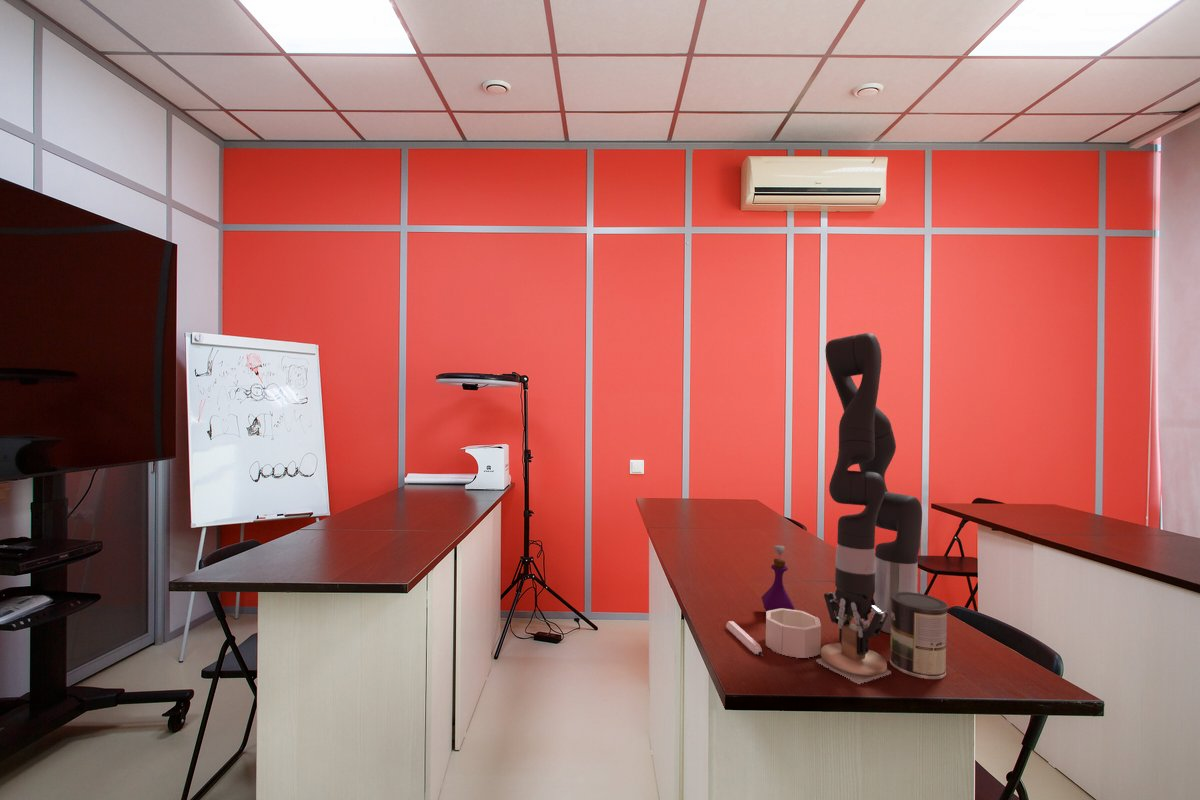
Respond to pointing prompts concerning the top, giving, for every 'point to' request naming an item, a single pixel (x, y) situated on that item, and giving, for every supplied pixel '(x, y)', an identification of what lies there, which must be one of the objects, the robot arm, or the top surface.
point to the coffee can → (918, 635)
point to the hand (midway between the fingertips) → (853, 649)
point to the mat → (852, 676)
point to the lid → (852, 655)
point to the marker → (744, 638)
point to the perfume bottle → (777, 587)
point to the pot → (793, 633)
